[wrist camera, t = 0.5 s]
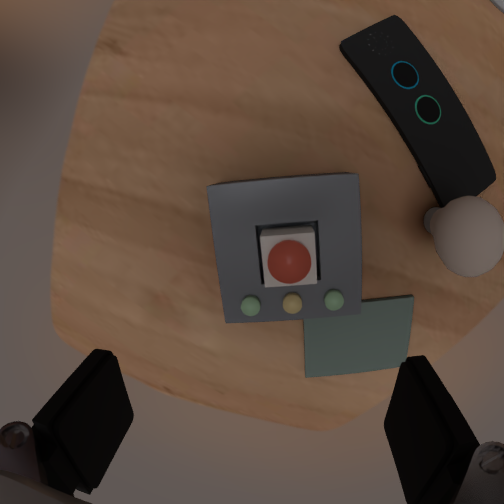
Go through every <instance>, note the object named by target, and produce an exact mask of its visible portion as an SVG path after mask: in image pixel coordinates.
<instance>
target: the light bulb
mask: <svg viewBox="0 0 504 504" xmlns="http://www.w3.org/2000/svg"><path fill="white" fill-rule="evenodd" d="M424 226H425V228H426V230H427V231H428V232H429V233H431V234H432V235H433V238H434V243H435V248H436V252H437V253H438V255H439V256H440V258H441V260H442V261H443V263H444V264H445V266H446V267H447V269H449V270H451V271H452V272H454V273H456V274H458V275H461V276H464V277H477V276H479V275H482V274H484V273H486V272H488V271H489V270H491V269H492V268H493V267H494V266H495V265H496V264H497V263H498V262H499V260H500V259H501V257H502V254H503V251H504V223H503V220H502V218H501V216H500V215H499V213H498V211H497V209H496V208H495V207H493V206H492V205H491V204H490V203H489V202H487V201H486V200H484V199H482V198H481V197H475V196H463V197H460V198H457V199H454V200H452V201H450V202H449V203H448V204H447V205H446V206H445V207H443V208H438V207H433V208H431V209H429V210H428V211H427V212H426V214H425V216H424Z"/></svg>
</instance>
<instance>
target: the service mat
mask: <svg viewBox="0 0 504 504" xmlns="http://www.w3.org/2000/svg"><path fill="white" fill-rule="evenodd" d="M413 304H414V296H413V295H405V296H396V297H387V298H378V299H369V300H361V314H357V315H347V316H336V317H325V318H312V319H303V320H304V345H305V377H306V378H307V377H320V376H331V375H342V374H351V373H360V372H368V371H375V370H382V369H389V368H396V367H400V365H401V363H402V362H405V360H406V358H407V352H408V345H409V338H410V331H411V323H412V314H413Z"/></svg>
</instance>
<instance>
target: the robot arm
mask: <svg viewBox="0 0 504 504" xmlns="http://www.w3.org/2000/svg"><path fill="white" fill-rule="evenodd" d="M133 416H134V414H133V410H132V407H131V404H130V400H129V397H128V394H127V391H126V388H125V384H124V381H123V378H122V374H121V370H120V367H119V363H118V360H117V357H116V356H114V355H113V353H112V352H111V351H108V350H102V349H94V350H93V351H92V352H91V353H90V354H89V356H88V357H87V358H86V359H85V360H84V361H83V362H82V363H81V365H79V367H78V368H77V369H76V370H75V371H74V372H73V373H72V374H71V376H70V377H69V378H68V379H67V380H66V381H65V383H63V385H62V386H61V387H60V388H59V389H58V391H56V393H55V394H54V395H53V396H52V397H51V398H50V399H49V401H48V402H47V403H46V404H45V405H44V406H43V408H42V409H41V410H40V411H39V412H38V414H37V415H36V416H35V417H34V418H33V419H32V421H33V423H34V425H33V426H32V428H31V427H30V426H29V425H28V424H27V423H25V422H21V421H16V422H15V421H14V422H11V423H8V424H6V425H4V426H3V427H2V428H1V429H0V504H92V503H89V502H86V501H83V500H81V499H78V498H75V497H74V494H73V493H74V491H75V489H77V490H79V491H81V492H84V493H87V494H91V492H92V490H93V488H97V487H98V486H99V484H100V482H101V480H102V478H103V476H104V474H105V472H106V471H107V468H108V467H109V464H110V462H111V461H112V459H113V457H114V455H115V453H116V451H117V449H118V448H119V445H120V444H121V442H122V440H123V438H124V436H125V434H126V432H127V431H128V429H129V427H130V425H131V423H132V421H133ZM384 429H385V432H386V436H387V439H388V442H389V445H390V448H391V451H392V455H393V458H394V461H395V464H396V468H397V471H398V474H399V478H400V481H401V485H402V488H403V492H404V495H405V499H406V502H407V504H504V444H502V443H500V442H494V441H491V442H486V443H483V444H481V445H480V444H479V442H478V441H477V439H476V437H475V435H474V434H473V432H472V430H471V429H470V426H469V425H468V423H467V421H466V420H465V418H464V416H463V415H462V413H461V411H460V410H459V408H458V406H457V405H456V403H455V401H454V400H453V398H452V396H451V395H450V394H449V392H448V391H447V389H446V388H445V386H444V384H443V383H442V381H441V380H440V378H439V377H438V375H437V374H436V372H435V371H434V369H433V367H432V366H431V364H430V363H429V361H428V360H427V358H426V357H425V356H423V355H421V356H412V357H407V359H406V360H405V362H402V363H401V365H400V368H399V372H398V376H397V380H396V383H395V387H394V390H393V394H392V397H391V401H390V404H389V407H388V410H387V414H386V417H385V420H384Z"/></svg>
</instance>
